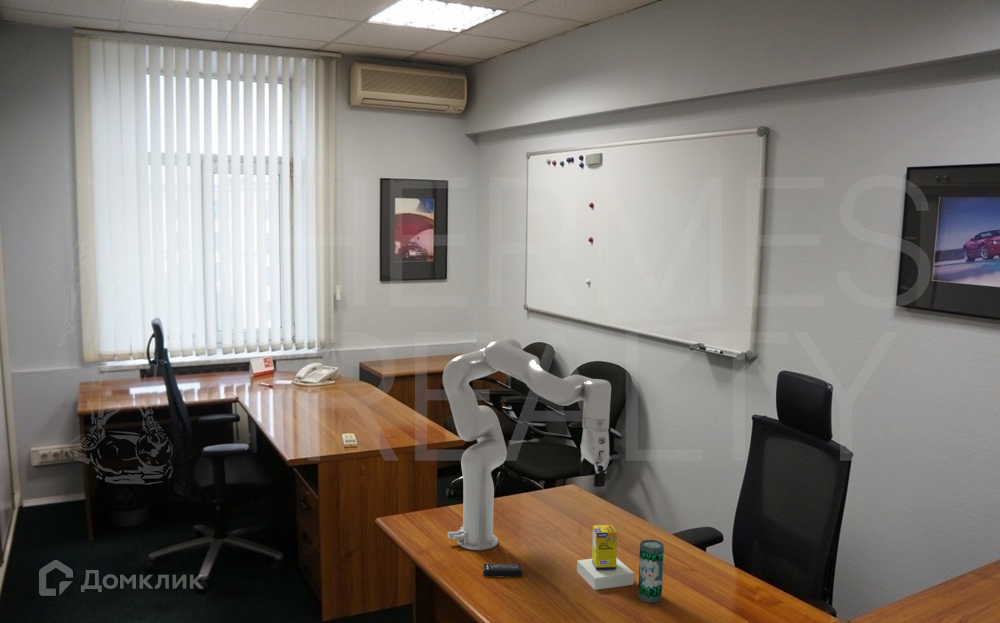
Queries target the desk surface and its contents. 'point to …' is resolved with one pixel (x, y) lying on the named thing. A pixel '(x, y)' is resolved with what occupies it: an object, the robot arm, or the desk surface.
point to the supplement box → (604, 547)
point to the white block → (605, 575)
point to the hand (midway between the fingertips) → (592, 480)
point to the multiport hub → (502, 570)
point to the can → (650, 570)
